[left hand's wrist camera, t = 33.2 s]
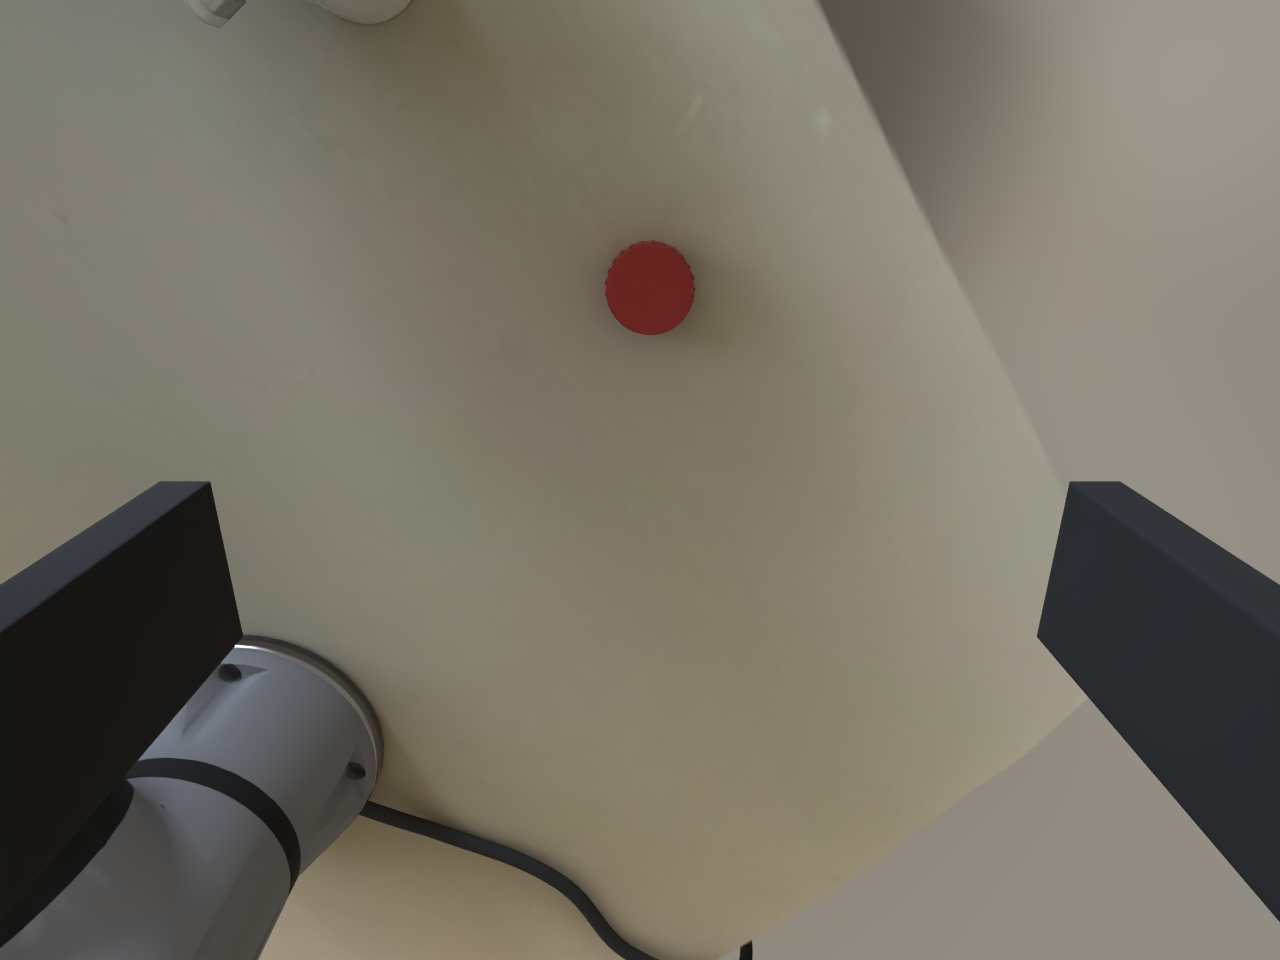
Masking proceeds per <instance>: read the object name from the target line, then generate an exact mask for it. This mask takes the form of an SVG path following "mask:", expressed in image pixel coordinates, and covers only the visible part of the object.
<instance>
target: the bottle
mask: <svg viewBox="0 0 1280 960" xmlns="http://www.w3.org/2000/svg"><path fill="white" fill-rule="evenodd" d="M306 1H308V2H310V3H312V4H314V5H316V6H318V7H320V8H322V9H325V10H327V11H329V12H331V13H333V14H335V15H337V16H339V17H341V18H343V19H345V20H348V21H351V22H354V23H360V24H375V23H380V22H384V21H387V20H389V19H391V18H393V17H394V16H396V15H398V14H399V13H400V12H401V11H402V10H404V9H405V8H406V6H407V5H408V4H409V3H410V2H411V0H306Z"/></svg>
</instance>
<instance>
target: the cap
mask: <svg viewBox="0 0 1280 960" xmlns="http://www.w3.org/2000/svg"><path fill="white" fill-rule="evenodd" d="M608 273H609V275H608V278H607V280H606V283H605V284H606V294H605V295H606V297H607V302H608V306H609V308H610V310H611V312H612V314H613V315H614V317H615V318H616V319H617V320H618V321H619V322H620V323H621V324H622V325H623V326H624V327H626V328H628V329H629V330H631V331H633V332H636V333H640V334H646V335H654V334H660V333H664V332H667V331H669V330H671V329H672V328H674V327H675V326H677V325H678V324H679V323H680V322H681V321H682V320H683V319H684V318H685V316H686V315H687V314H688V312H689V310H690V308H691V305H692V302H693V298H694V291H695V288H694V282H693V279H694V277H693V275H692V274H691V272H690V266H689V264H687V263H686V261H685V260H684V257H683V255H682V254H681V255H680V254H679V253H678V252H677V251H676V250H675V248H674V247H673V248H672V247H670V246H668V245H666V244H665V243H664V242H663V243H659V242H654V240H652V241H649V242H643V241H641V243H637V244H634V245H632V244H631V246H630V247H628V248H627V249H626V250H624V251H623V250H622V251H621V254H620V255H619V256H618V257H617V258H616V259H614V261H613V265H612V267H611V268H609V271H608Z"/></svg>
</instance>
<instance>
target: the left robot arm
mask: <svg viewBox="0 0 1280 960" xmlns="http://www.w3.org/2000/svg"><path fill="white" fill-rule="evenodd" d="M1037 637H1038V639H1039V640H1040V641H1041V642H1042V643H1043V644H1044V646H1045V647H1046V648H1047V649H1048V650H1049V652H1050V653H1051V654H1052V655H1053V656H1054V657H1055V659H1056V660H1057V661H1058V662H1059V663H1060V664H1061V666H1062V667H1063V668H1064V669H1065V670H1066V672H1067V673H1068V674H1069V675H1070V676H1071V677H1072V679H1073V680H1074V681H1075V682H1076V683H1077V684H1078V686H1079V687H1080V688H1081V689H1082V690H1083V691H1084V693H1085V694H1086V695H1087V696H1088V697H1089V699H1090V700H1091V701H1092V702H1093V703H1094V704H1095V706H1096V707H1097V708H1098V709H1099V710H1100V711H1101V713H1102V714H1103V715H1104V716H1105V717H1106V718H1107V720H1108V721H1109V722H1110V723H1111V724H1112V726H1113V727H1114V728H1115V729H1116V730H1117V731H1118V733H1119V734H1120V735H1121V736H1122V737H1123V738H1124V740H1125V741H1126V742H1127V743H1128V744H1129V745H1130V747H1131V748H1132V749H1133V750H1134V751H1135V753H1136V754H1137V755H1138V756H1139V757H1140V758H1141V760H1142V761H1143V762H1144V763H1145V764H1146V765H1147V767H1148V768H1149V769H1150V770H1151V771H1152V772H1153V774H1154V775H1155V776H1156V777H1157V778H1158V780H1159V781H1160V782H1161V783H1162V784H1163V785H1164V787H1165V788H1166V789H1167V790H1168V791H1169V792H1170V794H1171V795H1172V796H1173V797H1174V798H1175V800H1176V801H1177V802H1178V803H1179V804H1180V805H1181V807H1182V808H1183V809H1184V810H1185V811H1186V812H1187V814H1188V815H1189V816H1190V817H1191V818H1192V820H1193V821H1194V822H1195V823H1196V824H1197V825H1198V827H1199V828H1200V829H1201V830H1202V831H1203V832H1204V834H1205V835H1206V836H1207V837H1208V838H1209V839H1210V841H1211V842H1212V843H1213V844H1214V845H1215V847H1216V848H1217V849H1218V850H1219V851H1220V852H1221V854H1222V855H1223V856H1224V857H1225V858H1226V859H1227V861H1228V862H1229V863H1230V864H1231V865H1232V866H1233V868H1234V869H1235V870H1236V871H1237V872H1238V873H1239V875H1240V876H1241V877H1242V878H1243V879H1244V881H1245V882H1246V883H1247V884H1248V885H1249V886H1250V888H1251V889H1252V890H1253V891H1254V892H1255V893H1256V895H1257V896H1258V897H1259V898H1260V899H1261V901H1262V902H1263V903H1264V904H1265V905H1266V906H1267V908H1268V909H1269V910H1270V911H1271V912H1272V913H1273V915H1274V916H1275V917H1276V918H1277V919H1278V920H1279V922H1280V585H1279V584H1277V583H1276V582H1274V581H1273V580H1271V579H1270V578H1268V577H1267V576H1265V575H1263V574H1262V573H1260V572H1259V571H1257V570H1256V569H1254V568H1253V567H1251V566H1250V565H1248V564H1246V563H1245V562H1243V561H1242V560H1240V559H1239V558H1237V557H1236V556H1234V555H1233V554H1231V553H1230V552H1228V551H1226V550H1225V549H1223V548H1222V547H1220V546H1219V545H1217V544H1216V543H1214V542H1213V541H1211V540H1209V539H1208V538H1206V537H1205V536H1203V535H1202V534H1200V533H1199V532H1197V531H1196V530H1194V529H1193V528H1191V527H1189V526H1188V525H1186V524H1185V523H1183V522H1182V521H1180V520H1179V519H1177V518H1175V517H1174V516H1172V515H1171V514H1169V513H1168V512H1166V511H1165V510H1163V509H1162V508H1160V507H1159V506H1157V505H1155V504H1154V503H1152V502H1151V501H1149V500H1148V499H1146V498H1145V497H1143V496H1142V495H1140V494H1138V493H1137V492H1135V491H1134V490H1132V489H1131V488H1129V487H1128V486H1126V485H1125V484H1123V483H1122V482H1070V483H1069V488H1068V493H1067V497H1066V502H1065V507H1064V511H1063V516H1062V521H1061V525H1060V530H1059V535H1058V540H1057V544H1056V549H1055V554H1054V558H1053V563H1052V568H1051V572H1050V577H1049V582H1048V587H1047V591H1046V596H1045V601H1044V605H1043V610H1042V615H1041V619H1040V624H1039V629H1038V634H1037ZM383 754H384V750H383V738H382V733H381V729H380V725H379V722H378V720H377V717H376V715H375V713H374V711H373V709H372V707H371V705H370V704H369V702H368V701H367V699H366V697H365V696H364V695H363V693H362V692H361V691H360V690H359V688H358V687H357V686H356V685H355V684H354V683H353V682H352V681H351V680H350V679H349V678H348V677H347V676H346V675H345V674H344V673H342V672H341V671H340V670H339V669H337V668H336V667H335V666H333V665H332V664H331V663H329V662H327V661H326V660H324V659H323V658H321V657H319V656H317V655H315V654H314V653H312V652H310V651H308V650H305V649H303V648H301V647H298V646H296V645H293V644H290V643H287V642H283V641H279V640H276V639H271V638H265V637H259V636H249V635H243V634H242V629H241V624H240V620H239V615H238V610H237V605H236V601H235V596H234V591H233V587H232V582H231V577H230V572H229V568H228V563H227V558H226V554H225V549H224V544H223V540H222V535H221V530H220V525H219V521H218V516H217V511H216V507H215V502H214V497H213V493H212V488H211V483H210V482H158V483H157V484H155V485H154V486H152V487H151V488H149V489H148V490H146V491H145V492H143V493H142V494H140V495H138V496H137V497H135V498H134V499H132V500H131V501H129V502H128V503H126V504H125V505H123V506H121V507H120V508H118V509H117V510H115V511H114V512H112V513H111V514H109V515H108V516H106V517H104V518H103V519H101V520H100V521H98V522H97V523H95V524H94V525H92V526H91V527H89V528H87V529H86V530H84V531H83V532H81V533H80V534H78V535H77V536H75V537H74V538H72V539H71V540H69V541H67V542H66V543H64V544H63V545H61V546H60V547H58V548H57V549H55V550H54V551H52V552H50V553H49V554H47V555H46V556H44V557H43V558H41V559H40V560H38V561H37V562H35V563H33V564H32V565H30V566H29V567H27V568H26V569H24V570H23V571H21V572H20V573H18V574H16V575H15V576H13V577H12V578H10V579H9V580H7V581H6V582H4V583H3V584H1V585H0V960H258V959H259V957H260V954H261V952H262V950H263V948H264V946H265V944H266V942H267V940H268V938H269V936H270V934H271V932H272V930H273V928H274V926H275V923H276V921H277V919H278V917H279V915H280V913H281V911H282V909H283V907H284V905H285V903H286V900H287V898H288V896H289V894H290V892H291V890H292V888H293V886H294V884H295V882H296V880H297V878H298V876H299V875H300V874H301V873H302V872H303V871H304V870H305V869H306V868H307V867H308V866H309V865H310V864H311V863H312V862H313V861H314V860H315V859H316V858H317V857H318V856H319V855H320V854H321V853H322V852H323V851H324V850H325V849H326V848H327V847H328V846H329V845H330V844H331V843H332V842H333V841H334V840H335V839H336V838H337V837H338V836H339V835H340V834H341V833H342V832H343V831H344V830H345V829H346V828H347V827H348V826H349V825H350V824H351V823H352V822H353V821H354V820H355V819H356V817H357V816H358V815H361V816H364V817H367V818H370V819H373V820H376V821H379V822H382V823H385V824H388V825H391V826H394V827H397V828H401V829H404V830H407V831H411V832H414V833H417V834H421V835H424V836H427V837H430V838H433V839H436V840H439V841H442V842H445V843H447V844H450V845H453V846H456V847H459V848H462V849H465V850H468V851H471V852H474V853H477V854H481V855H484V856H486V857H489V858H492V859H495V860H498V861H501V862H503V863H506V864H509V865H511V866H514V867H516V868H518V869H521V870H523V871H525V872H527V873H529V874H531V875H533V876H535V877H537V878H539V879H541V880H542V881H544V882H546V883H548V884H549V885H551V886H553V887H554V888H556V889H557V890H558V891H560V892H561V893H563V894H564V895H565V896H566V897H567V898H568V899H570V900H571V901H572V902H573V903H574V904H575V905H576V907H577V908H578V909H579V910H580V911H581V912H582V914H583V915H584V916H585V918H586V919H587V920H588V922H589V923H590V924H591V926H592V927H593V928H594V930H595V931H596V933H597V934H598V935H599V936H600V937H601V939H602V940H603V941H604V942H605V943H606V944H607V945H608V946H609V947H610V948H611V949H612V950H613V951H614V952H616V953H617V954H618V955H620V956H621V957H623V958H624V959H626V960H658V959H656V958H654V957H652V956H650V955H648V954H646V953H644V952H642V951H640V950H638V949H636V948H634V947H633V946H631V945H630V944H628V943H627V942H626V941H624V940H623V939H622V938H621V937H620V936H619V935H618V934H617V933H616V932H615V931H614V930H613V929H612V928H611V927H610V925H609V924H608V923H607V922H606V920H605V919H604V917H603V916H602V915H601V913H600V912H599V911H598V909H597V908H596V907H595V905H594V904H593V903H592V901H591V900H590V899H589V898H588V896H587V895H586V894H585V893H584V892H583V891H582V890H581V889H580V888H579V887H578V886H577V885H575V884H574V883H573V882H572V881H571V880H569V879H568V878H566V877H565V876H564V875H562V874H561V873H559V872H557V871H556V870H554V869H553V868H551V867H549V866H547V865H545V864H544V863H542V862H540V861H538V860H536V859H534V858H532V857H529V856H527V855H525V854H523V853H520V852H518V851H515V850H513V849H510V848H508V847H505V846H502V845H499V844H496V843H494V842H491V841H488V840H485V839H482V838H479V837H476V836H473V835H470V834H467V833H464V832H461V831H458V830H455V829H452V828H449V827H447V826H444V825H441V824H438V823H435V822H432V821H429V820H426V819H423V818H419V817H416V816H413V815H409V814H406V813H403V812H400V811H397V810H394V809H391V808H388V807H385V806H382V805H380V804H377V803H374V802H371V801H368V799H369V797H370V796H371V793H372V791H373V789H374V786H375V784H376V782H377V779H378V777H379V774H380V772H381V767H382V763H383ZM752 957H753V946H752V940H751V941H749V942H747V943H746V944H744V945H742V946H740V958H739V960H752Z"/></svg>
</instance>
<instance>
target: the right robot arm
mask: <svg viewBox="0 0 1280 960" xmlns="http://www.w3.org/2000/svg"><path fill="white" fill-rule="evenodd" d="M184 1H185V3H186V4H187V5H188V6H189V7H190V9H191V10H192V11H193V12H194V13H195V14H196V15H197V16H198V17H199V18H200V19H201V20H202V21H204V22H205V23H207V24H209V25H212V26H216V27H219V28H221V27H222V26H223V25H224V24H225V23H226V22H227V21H228V20H229V19H230V18H231V17H232V16H233V15H234V14H235V13H236V12H237V11H238V10H239V9H240V8H241V7H242V6H243V5H244V4H245V3H246V1H245V0H184Z"/></svg>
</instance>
